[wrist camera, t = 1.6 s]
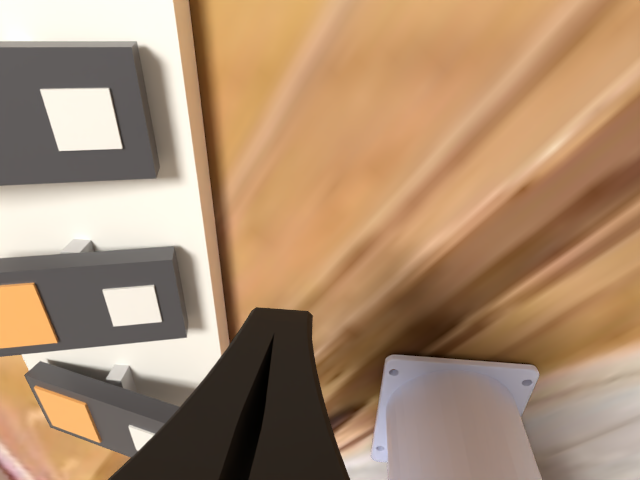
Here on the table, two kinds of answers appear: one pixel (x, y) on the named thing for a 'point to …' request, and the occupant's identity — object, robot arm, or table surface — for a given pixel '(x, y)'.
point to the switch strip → (131, 194)
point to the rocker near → (74, 113)
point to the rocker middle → (90, 300)
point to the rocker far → (97, 409)
